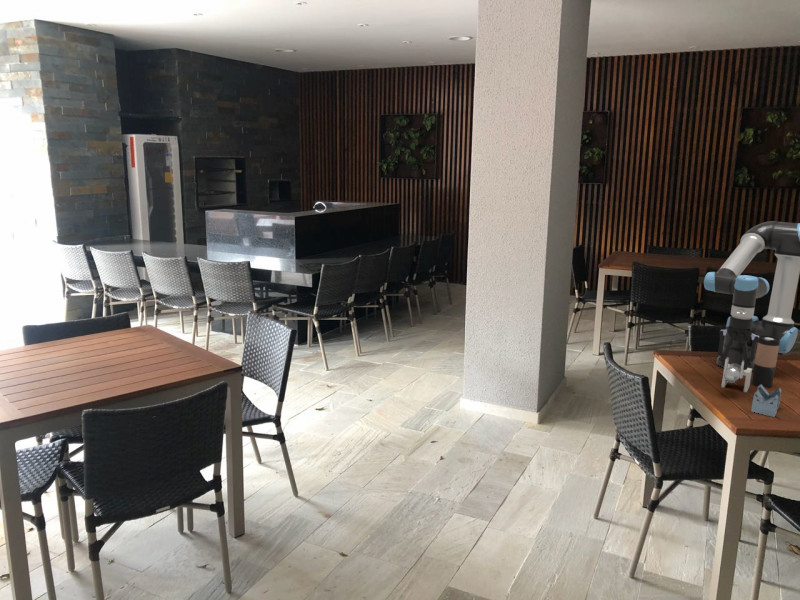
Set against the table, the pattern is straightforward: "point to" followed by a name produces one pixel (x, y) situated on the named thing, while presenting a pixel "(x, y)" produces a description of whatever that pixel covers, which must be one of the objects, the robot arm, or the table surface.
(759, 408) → the v block
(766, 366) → the travel mug
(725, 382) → the u shaped block
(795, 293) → the robot arm
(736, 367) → the axle
